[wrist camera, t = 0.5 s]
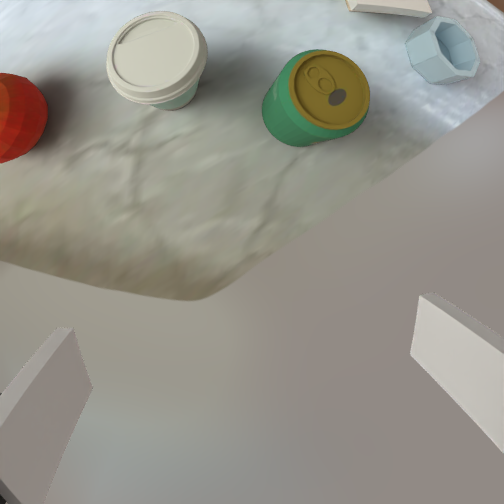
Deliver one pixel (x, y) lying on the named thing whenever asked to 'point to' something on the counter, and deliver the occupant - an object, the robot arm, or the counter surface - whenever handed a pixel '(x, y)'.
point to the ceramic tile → (393, 7)
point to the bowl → (442, 51)
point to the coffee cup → (157, 60)
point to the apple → (20, 116)
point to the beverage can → (316, 99)
